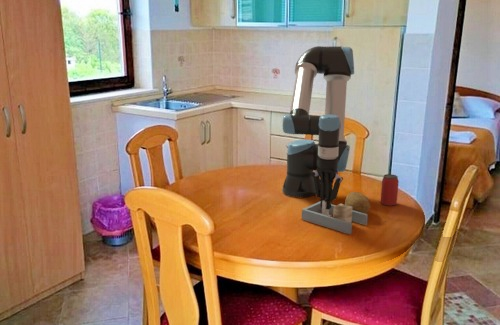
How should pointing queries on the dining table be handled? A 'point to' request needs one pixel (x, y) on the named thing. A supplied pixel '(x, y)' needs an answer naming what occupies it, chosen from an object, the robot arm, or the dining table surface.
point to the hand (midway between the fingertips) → (325, 216)
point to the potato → (358, 202)
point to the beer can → (389, 190)
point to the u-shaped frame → (316, 216)
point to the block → (343, 212)
